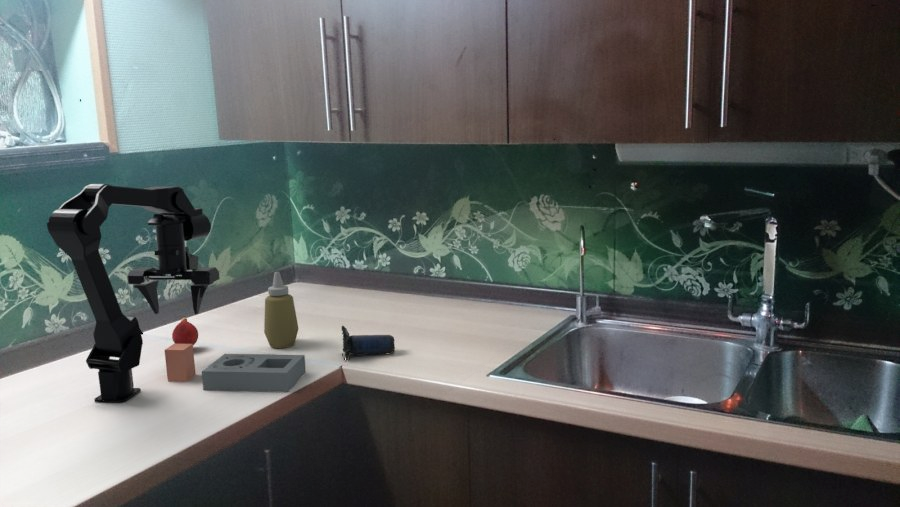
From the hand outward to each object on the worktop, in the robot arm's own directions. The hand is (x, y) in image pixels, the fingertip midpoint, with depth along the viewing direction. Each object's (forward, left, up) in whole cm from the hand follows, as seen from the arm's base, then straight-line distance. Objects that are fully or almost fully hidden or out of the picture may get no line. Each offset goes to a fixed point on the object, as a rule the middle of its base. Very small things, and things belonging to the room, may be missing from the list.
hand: (176, 313), depth 166 cm
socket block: (-8, -21, -12) cm, 25 cm away
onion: (+11, +4, -12) cm, 17 cm away
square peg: (-7, -4, -12) cm, 15 cm away
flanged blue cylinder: (+10, -40, -13) cm, 43 cm away
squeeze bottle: (+16, -18, -12) cm, 27 cm away
